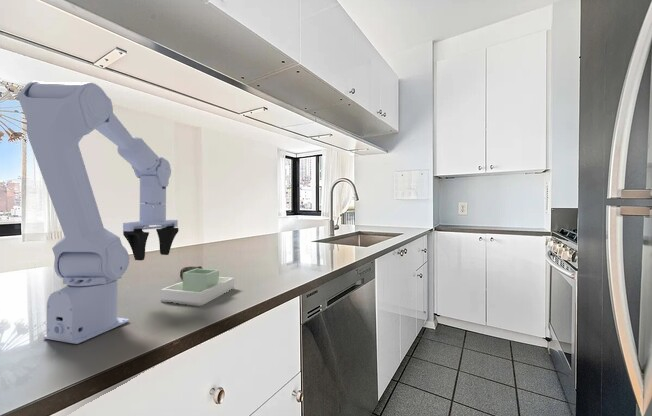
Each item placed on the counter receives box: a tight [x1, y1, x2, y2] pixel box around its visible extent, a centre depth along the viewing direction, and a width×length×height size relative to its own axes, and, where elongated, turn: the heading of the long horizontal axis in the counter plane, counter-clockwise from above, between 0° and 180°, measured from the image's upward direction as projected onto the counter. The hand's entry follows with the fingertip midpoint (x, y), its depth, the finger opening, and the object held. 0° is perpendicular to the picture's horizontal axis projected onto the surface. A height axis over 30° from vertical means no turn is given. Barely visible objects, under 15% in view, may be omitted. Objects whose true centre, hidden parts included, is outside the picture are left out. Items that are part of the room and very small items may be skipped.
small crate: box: [182, 268, 220, 292], centre depth 72 cm, size 5×7×6 cm
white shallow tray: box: [160, 276, 235, 307], centre depth 72 cm, size 14×11×3 cm
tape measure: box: [179, 266, 204, 281], centre depth 86 cm, size 7×7×4 cm
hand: (152, 257), depth 71 cm, fingers open, 7 cm apart
